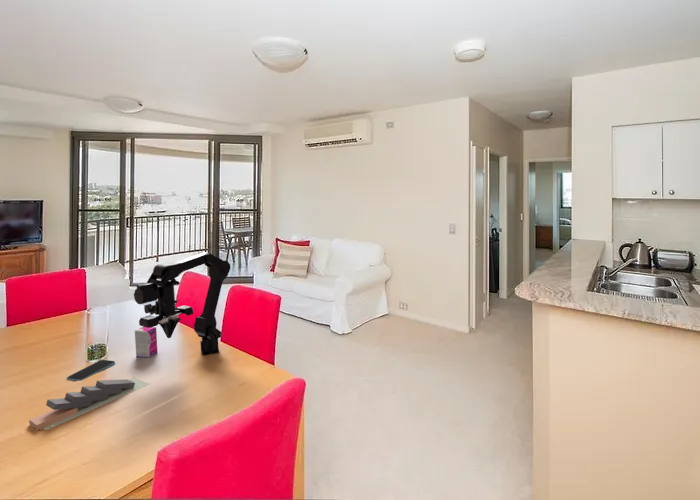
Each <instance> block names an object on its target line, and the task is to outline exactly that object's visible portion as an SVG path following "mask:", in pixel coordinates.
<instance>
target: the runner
mask: <svg viewBox="0 0 700 500" xmlns="http://www.w3.org/2000/svg"><path fill="white" fill-rule="evenodd" d="M129 380H130V381H132V382H134V383H135V385H134V388H122V391H121V394H108V398H107V400H97V401H92V403H91V406H88V407H78V408H77V409H78V413H76V414H73V415H71V416H69V417H67V418H64V419H62V420H60V421H58V422H55V423H53V424H51V425H49V426H46V427H44V428H42V430H45V431H47V430H46V429H48V430H51V429H53V428H54V427H57V426H59V425H62V424H64V423H66V422H68V421H70V420H72V419H74V418H77V417H79V416H81V415H83V414H86V413H88V412H91V411H93V410H95V409H96V408H100V407H101V406H104V405H106V404H107V403H110V402H112V401H114V400H117V399H118V398H122V397H123V396H126V395H128V394H130V393H132V392H135V391H137V390H139V389H141V388H143V387H146V386H148V385H150V383H148V382H146V381H144V380H141V379H139V378H136V377H133V378H129ZM52 425H53V426H52ZM50 428H51V429H50Z"/></svg>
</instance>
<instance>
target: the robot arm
mask: <svg viewBox="0 0 700 500" xmlns="http://www.w3.org/2000/svg"><path fill="white" fill-rule="evenodd" d="M202 265H204V266H206V267H207V268H208V275H209V278H210V281H209V286H208V289H207V293H206V296H205V297H206V298H205V301H204V305H203V309H202V313H201V314H200V316H195V318H194V323H193V327H194V328H193V331H194V333H196V335H197V336H198V338H201V340H199V343H200V353H201V354H202V355H203V356H204V355H205V356H206V355H210V354H217V353H220V349H219V338H221V337H222V333H223V332H222V331H221V330H220V329H218V328H217V318H216V311H217V306H218V303H219V299H220V295H221V290H222V286H223V282H224V281H225V280H226V278H227V277H228V276H229V274H230V271H231V264H230V262H229V261H228V260H223V259H221V258H219V257H217V256H215V255H214V254H212V253H211V252H205V251H203V252H200V253H198V254H195V255H193V256H189V257H187V258H184V259H181V260H178V261H174V262H163V263H158V264H156V265H155V266H154V267H153V270H152V273H151V275H150V276H149V278H148V280H147V281H146V283H144V284H141V283H140V284H137V285H136V288H135V290H134V293H133V298H134V300H135V302H136V304H137V305H142V304H143V306H144V307H143V310H144V313H145V314H146V316H142V317H140V319H139V321H138V323H139V326H140V327H147V328H151V327H156V326H157V327H158V325H159V326H160V327H161V329H162V330H163V332H164V333H165V336H166V338H167V339H171V338H172V336H173V333H174V331H175V329H176V327H177V325H178V323H179V321H181V320H182V319H181V318H180V317H179V315H183V314H184V315H185V316H186V317H187V316H191V315H192V316H193V315H194V308H193V307H191V306H189V305H180V306H177V307H176V304H177V303H178V300H177V299H176V297H175V295H176V294H175V285H179V284H180V281H179V280H177V279H176V278H177V277H179V276H180V275H181V274H182V273H184V272H186V271H189V270H192V269H195V268H196V267H199V266H202ZM152 302H155V304H151V303H152ZM144 304H145V305H144ZM147 314H149V315H147ZM154 315H155V316H154Z"/></svg>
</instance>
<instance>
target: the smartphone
mask: <svg viewBox="0 0 700 500" xmlns="http://www.w3.org/2000/svg"><path fill="white" fill-rule="evenodd" d="M115 364H116V360H109V359H101V360H98V361H96V362H93V363H91V364H89V365H87V366H85V367H84V368H82V369H80V370H78V371H76V372H74V373H72V374H71V375H68V376H67V377H66V380H67V379H68V381H75V382H76V381H83V380H85V379H87V378H90V377H91V376H93V375H96V374H98V373H101V372H102V371H104V370H107V369H108V368H110V367H112V366H114V365H115Z"/></svg>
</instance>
